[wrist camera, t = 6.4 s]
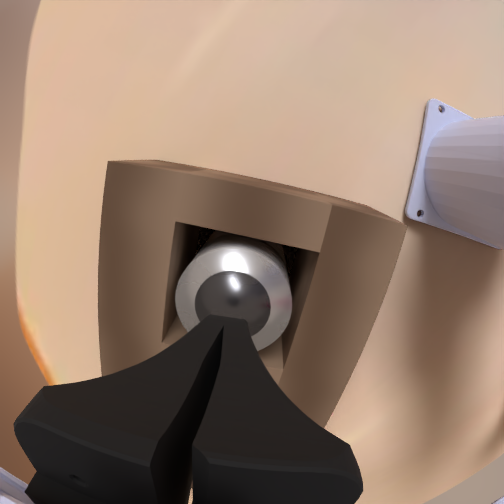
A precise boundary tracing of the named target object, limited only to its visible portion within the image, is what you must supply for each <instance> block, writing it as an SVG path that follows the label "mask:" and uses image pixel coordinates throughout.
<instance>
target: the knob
mask: <svg viewBox="0 0 504 504" xmlns="http://www.w3.org/2000/svg"><path fill="white" fill-rule="evenodd" d="M175 303H176V309H177V313H178V316H179V319H180V321H181V323H182V325H183V326H184V328H185V329H186V330H187V332H189V331H190V330H191V329H193V328H194V327H195V326H196V325H197V324H198V323H200V322H201V321H202V320H203V319H204V318H205V317H206V316H208V315H209V314H211V315H218V316H224V317H231V318H238V319H245V320H246V321H247V322H248V327H249V331H250V334H251V337H252V340H253V343H254V345H255V347H256V349H257V351H259V350H261V349H263V348H265V347H267V346H269V345H270V344H272V343H273V342H274V341H276V340H277V339H278V338H279V337H280V336H281V334H282V333H283V332H284V330H285V328H286V327H287V325H288V322H289V320H290V317H291V312H292V297H291V290H290V284H289V278H288V272H287V266H286V260H285V255H284V250H283V248H282V245H281V244H279V243H275V242H270V241H266V240H261V239H257V238H252V237H247V236H243V235H238V234H233V233H229V232H224V231H219V230H216V231H215V232H214V233H213V234H212V235H211V236H210V237H209V239H208V240H207V241H206V243H205V244H204V245H203V247H202V248H201V249H200V251H199V252H198V253H197V255H196V256H195V257H194V259H193V260H192V261H191V263H190V264H189V265H188V267H187V268H186V270H185V271H184V272H183V274H182V275H181V277H180V279H179V282H178V285H177V288H176V294H175Z"/></svg>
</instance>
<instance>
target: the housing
mask: <svg viewBox="0 0 504 504" xmlns="http://www.w3.org/2000/svg"><path fill="white" fill-rule="evenodd" d="M200 226H201V227H205V228H210V229H215V230H219V231H224V232H229V233H233V234H238V235H243V236H247V237H252V238H257V239H261V240H266V241H270V242H275V243H279V244H284V245H288V246H293V247H298V248H297V252H296V256H295V260H294V263H293V267H292V271H291V275H290V278H289V284H290V290H291V297H292V312H291V317H290V320H289V322H288V325H287V327H286V328H285V330H284V332H283V333H282V334H281V336H280V337H279V338H278V339H277V340H276V341H274V342H273V343H272V344H270V345H269V346H267V347H265V348H263V349H261V350H259V351H257V352H258V354H259V356H260V358H261V360H262V362H263V363H264V365H265V367H266V368H267V370H268V372H269V373H270V375H271V376H272V378H273V379H274V381H275V382H276V383H277V385H278V386H279V387H280V389H281V390H282V391H283V392H284V393H285V394H286V396H287V397H288V398H289V399H290V400H291V401H292V402H293V403H294V404H295V405H296V406H297V407H298V408H299V409H300V410H301V411H302V412H303V413H304V414H306V415H307V416H308V417H309V418H311V419H312V420H313V421H314V422H316V423H317V424H318V425H319V426H321V427H322V428H324V427H325V425H326V424H327V422H328V420H329V418H330V416H331V414H332V412H333V411H334V409H335V407H336V405H337V403H338V401H339V399H340V397H341V395H342V393H343V391H344V389H345V387H346V385H347V383H348V381H349V379H350V377H351V375H352V373H353V370H354V368H355V366H356V364H357V362H358V360H359V357H360V355H361V353H362V351H363V348H364V346H365V344H366V341H367V339H368V337H369V334H370V332H371V330H372V327H373V325H374V322H375V320H376V317H377V315H378V312H379V310H380V307H381V304H382V302H383V299H384V296H385V294H386V291H387V288H388V285H389V283H390V280H391V277H392V274H393V271H394V268H395V265H396V262H397V259H398V256H399V253H400V250H401V246H402V243H403V240H404V237H405V233H406V230H407V225H405V224H403V223H401V222H399V221H397V220H395V219H393V218H391V217H389V216H387V215H385V214H383V213H381V212H379V211H377V210H375V209H373V208H371V207H369V206H367V205H363V204H360V203H356V202H352V201H349V200H345V199H341V198H337V197H333V196H330V195H326V194H322V193H318V192H314V191H310V190H306V189H301V188H297V187H293V186H289V185H284V184H280V183H275V182H271V181H266V180H262V179H257V178H252V177H248V176H243V175H238V174H233V173H228V172H223V171H218V170H212V169H207V168H201V167H196V166H190V165H184V164H178V163H172V162H166V161H160V160H124V161H108V164H107V171H106V179H105V187H104V195H103V205H102V215H101V228H100V243H99V265H98V323H99V345H100V360H101V372H102V376H106V375H109V374H113V373H115V372H118V371H121V370H123V369H126V368H129V367H131V366H134V365H136V364H139V363H141V362H143V361H145V360H147V359H149V358H151V357H153V356H155V355H156V354H158V353H160V352H161V351H163V350H164V349H166V348H167V347H169V346H170V345H172V344H173V343H175V342H176V341H177V340H179V339H180V338H181V337H183V336H184V335H185V334H186V333H188V332H187V330H186V329H185V328H184V326H183V325H182V323H181V321H180V319H179V316H178V313H177V309H176V303H175V294H176V288H177V285H178V282H179V279H180V277H181V275H182V274H183V272H184V271H185V270H186V268H187V267H188V265H189V264H190V263H191V261H192V260H193V259H194V257H195V253H196V247H197V241H198V235H199V229H200ZM191 488H193V481H192V484H191Z"/></svg>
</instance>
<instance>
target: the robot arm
mask: <svg viewBox="0 0 504 504" xmlns="http://www.w3.org/2000/svg"><path fill="white" fill-rule="evenodd" d="M439 106H440V107H441V109H442V112H440V111H439V108H438V107H439ZM418 210H421V215H420V216H419V217H418V216H417V212H418ZM405 214H406V216H407V217H408V218H410V219H412V220H416V221H419V222H422V223H425V224H428V225H431V226H434V227H437V228H440V229H443V230H446V231H449V232H452V233H455V234H458V235H461V236H464V237H467V238H469V239H472V240H475V241H478V242H480V243H483V244H486V245H489V246H491V247H494V248H497V249H501V248H502V249H504V115H503V116H494V117H485V118H477V119H474V118H472V117H470V116H468V115H466V114H465V113H463V112H461V111H459V110H457V109H455V108H453V107H451V106H449V105H447V104H445V103H443V102H441V101H439V100H437V99H430V100H428V101H427V104H426V111H425V117H424V124H423V129H422V135H421V141H420V146H419V151H418V156H417V161H416V166H415V170H414V175H413V179H412V183H411V187H410V192H409V196H408V200H407V203H406V207H405ZM14 431H15V435H16V437H17V439H18V442H19V444H20V445H21V447H22V449H23V450H24V452H25V454H26V455H27V457H28V458H29V460H30V462H31V463H32V465H33V466H34V468H35V469H36V471H37V472H36V474H35V475H34V477H33V478H32V480H31V482H30V483H29V485H28V484H26V483H24V482H23V481H21V480H20V479H18V478H16V477H15V476H13V475H12V474H10V473H9V472H7V471H5V470H4V469H2V468H1V467H0V504H188V500H189V495H190V490H191V484H192V481H193V502H192V504H354V503H355V502H356V501H357V500H358V499H359V497H360V495H361V494H362V492H363V481H362V477H361V473H360V469H359V466H358V464H357V461H356V459H355V456H354V454H353V452H352V449H351V447H350V445H349V444H348V443H346V442H344V441H343V440H341V439H339V438H338V437H336V436H335V435H333V434H332V433H330V432H328V431H327V430H325V429H324V428H322V427H321V426H319V425H318V424H317V423H316V422H314V421H313V420H312V419H311V418H309V417H308V416H307V415H306V414H304V413H303V412H302V411H301V410H300V409H299V408H298V407H297V406H296V405H295V404H294V403H293V402H292V401H291V400H290V399H289V398H288V397H287V396H286V394H285V393H284V392H283V391H282V390H281V389H280V387H279V386H278V385H277V383H276V382H275V381H274V379H273V378H272V376H271V375H270V373H269V372H268V370H267V368H266V367H265V365H264V363H263V362H262V360H261V358H260V356H259V354H258V352H257V349H256V347H255V345H254V343H253V340H252V337H251V334H250V331H249V327H248V322H247V321H246V320H245V319H238V318H231V317H224V316H218V315H211V314H209V315H208V316H206V317H205V318H204V319H203V320H202V321H201V322H200V323H198V324H197V325H196V326H195V327H194V328H193V329H191V330H190V331H189V332H188V333H186V334H185V335H184V336H183V337H181V338H180V339H179V340H177V341H176V342H175V343H173V344H172V345H170V346H169V347H167V348H166V349H164V350H163V351H161V352H160V353H158V354H156V355H155V356H153V357H151V358H149V359H147V360H145V361H143V362H141V363H139V364H136V365H134V366H131V367H129V368H126V369H123V370H121V371H118V372H115V373H113V374H109V375H106V376H102V377H99V378H95V379H91V380H86V381H81V382H76V383H69V384H61V385H53V386H44V387H43V388H42V389H41V390H40V391H39V392H38V393H37V394H36V396H35V397H34V398H33V399H32V400H31V401H30V403H29V404H28V405H27V406H26V408H25V409H24V410H23V411H22V412H21V414H20V415H19V416H18V417H17V419H16V420H15V422H14ZM492 504H504V496H502V497H501V498H499V499H497V500H496V501H494V502H493V503H492Z"/></svg>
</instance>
